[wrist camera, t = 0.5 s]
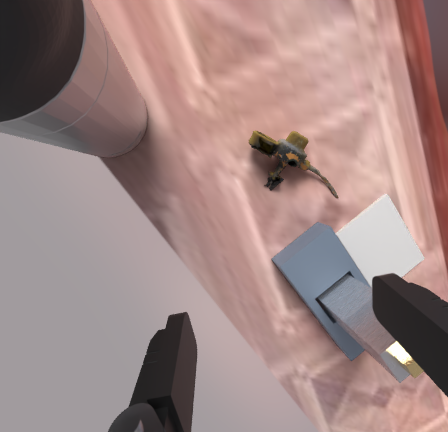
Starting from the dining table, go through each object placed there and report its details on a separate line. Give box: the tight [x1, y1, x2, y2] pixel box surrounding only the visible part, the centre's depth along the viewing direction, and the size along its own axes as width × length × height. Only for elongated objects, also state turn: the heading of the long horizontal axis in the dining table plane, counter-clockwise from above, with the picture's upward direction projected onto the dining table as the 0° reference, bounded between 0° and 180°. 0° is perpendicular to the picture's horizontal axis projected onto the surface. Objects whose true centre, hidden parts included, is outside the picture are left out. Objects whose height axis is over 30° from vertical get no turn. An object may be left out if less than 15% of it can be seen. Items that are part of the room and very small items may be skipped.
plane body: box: [272, 222, 371, 361], centre depth 33 cm, size 18×8×3 cm, turn 37°
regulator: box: [249, 131, 339, 198], centre depth 30 cm, size 8×4×15 cm
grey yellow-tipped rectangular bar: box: [315, 274, 423, 383], centre depth 27 cm, size 4×5×14 cm
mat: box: [335, 194, 425, 288], centre depth 34 cm, size 12×9×1 cm
